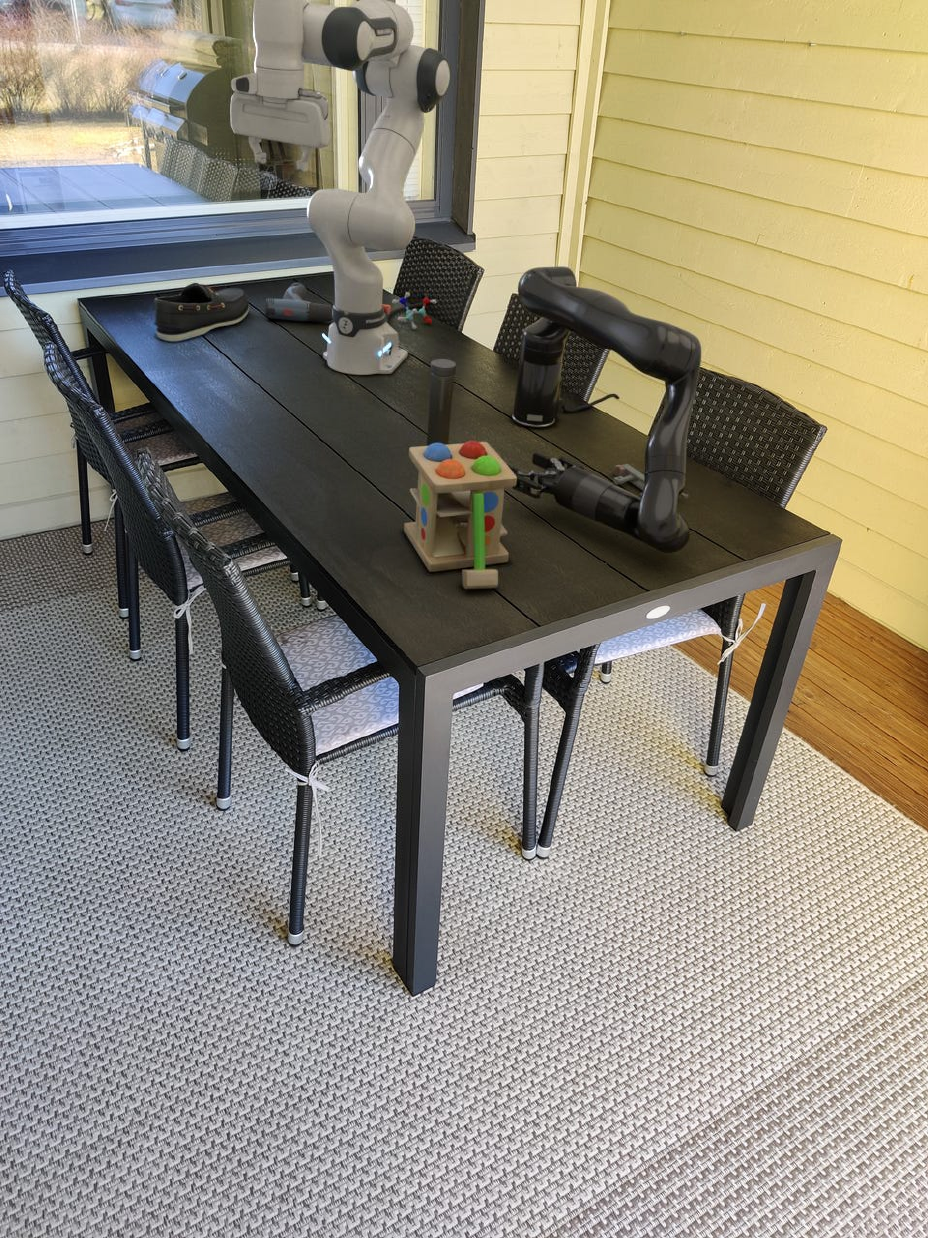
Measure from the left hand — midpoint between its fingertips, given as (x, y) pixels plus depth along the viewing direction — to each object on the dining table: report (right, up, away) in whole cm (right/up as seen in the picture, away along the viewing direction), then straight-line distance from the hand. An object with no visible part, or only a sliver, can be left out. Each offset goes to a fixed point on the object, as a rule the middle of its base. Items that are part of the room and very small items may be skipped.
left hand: (281, 166), depth 187 cm
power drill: (-8, -3, +80) cm, 80 cm away
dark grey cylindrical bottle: (+29, -53, +12) cm, 62 cm away
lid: (+31, -37, +1) cm, 49 cm away
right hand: (+45, -57, -3) cm, 73 cm away
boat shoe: (-32, -10, +65) cm, 74 cm away
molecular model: (+21, -6, +79) cm, 82 cm away
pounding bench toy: (+35, -76, -21) cm, 87 cm away
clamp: (+71, -61, +7) cm, 93 cm away
